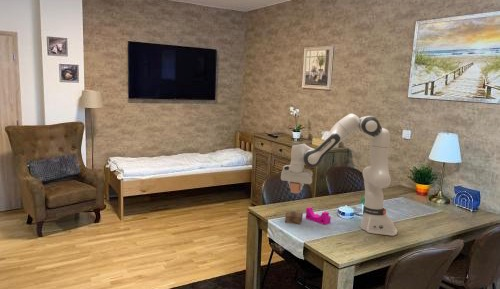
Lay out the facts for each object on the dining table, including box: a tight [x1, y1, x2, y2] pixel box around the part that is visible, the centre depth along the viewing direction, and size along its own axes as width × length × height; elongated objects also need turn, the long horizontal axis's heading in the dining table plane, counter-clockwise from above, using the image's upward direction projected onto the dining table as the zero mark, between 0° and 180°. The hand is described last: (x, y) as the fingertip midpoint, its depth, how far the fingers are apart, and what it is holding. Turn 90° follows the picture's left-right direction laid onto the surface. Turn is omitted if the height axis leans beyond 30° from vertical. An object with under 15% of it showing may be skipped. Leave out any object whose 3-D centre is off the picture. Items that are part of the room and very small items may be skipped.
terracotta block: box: [290, 182, 302, 194], centre depth 244 cm, size 5×5×6 cm
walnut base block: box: [284, 210, 304, 225], centre depth 247 cm, size 10×10×5 cm
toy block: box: [305, 206, 332, 226], centre depth 249 cm, size 15×6×8 cm, turn 45°
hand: (295, 188), depth 244 cm, fingers closed on terracotta block, 5 cm apart
